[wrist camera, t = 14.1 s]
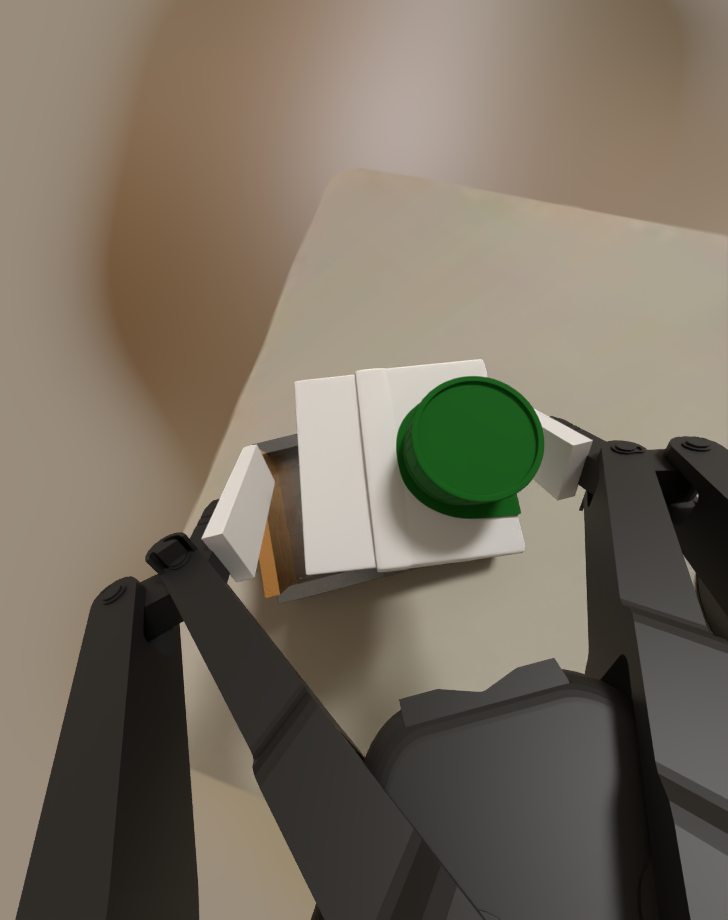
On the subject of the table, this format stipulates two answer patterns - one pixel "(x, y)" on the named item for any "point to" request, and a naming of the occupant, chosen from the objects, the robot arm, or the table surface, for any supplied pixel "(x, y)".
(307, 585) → the rail channel
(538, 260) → the table surface
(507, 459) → the soya milk
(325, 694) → the table surface
